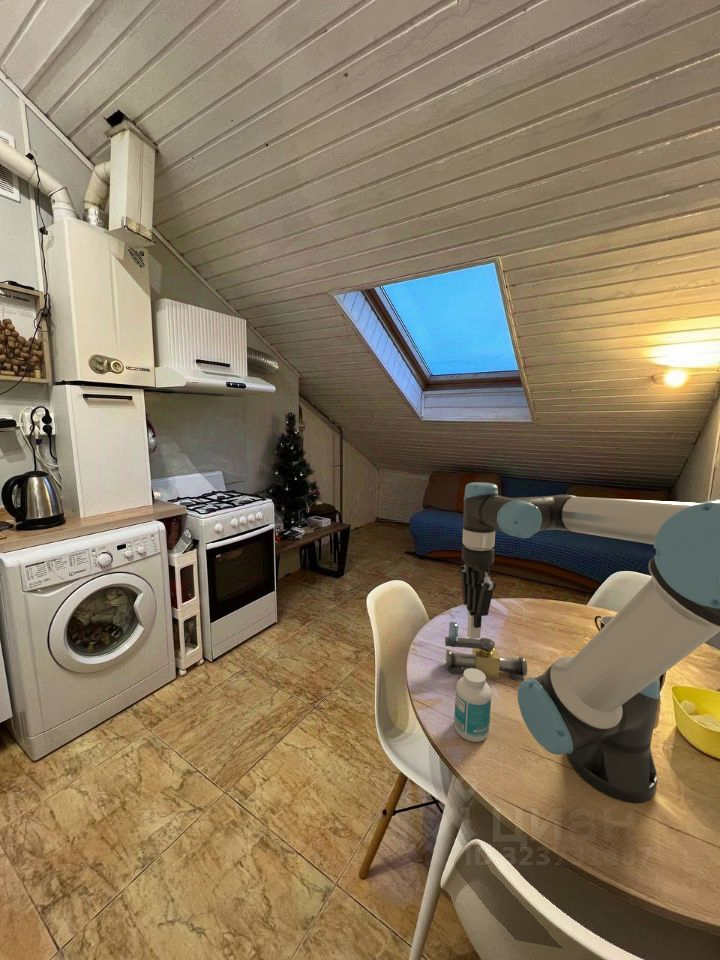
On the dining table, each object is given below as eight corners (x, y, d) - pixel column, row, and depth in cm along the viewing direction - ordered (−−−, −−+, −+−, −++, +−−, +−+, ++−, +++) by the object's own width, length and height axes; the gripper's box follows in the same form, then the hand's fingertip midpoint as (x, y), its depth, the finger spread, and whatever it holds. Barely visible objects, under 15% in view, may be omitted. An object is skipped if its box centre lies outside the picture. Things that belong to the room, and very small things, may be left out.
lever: (492, 643, 103) (493, 623, 102) (495, 652, 99) (497, 631, 98) (444, 639, 105) (445, 619, 104) (446, 648, 101) (447, 627, 100)
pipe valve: (527, 682, 98) (529, 658, 97) (447, 674, 101) (448, 651, 100) (520, 667, 104) (522, 645, 103) (445, 660, 107) (446, 638, 106)
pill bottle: (492, 726, 84) (497, 672, 82) (483, 750, 78) (488, 692, 76) (459, 711, 88) (463, 659, 86) (448, 733, 82) (452, 677, 80)
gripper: (508, 553, 85) (502, 649, 88) (477, 537, 98) (473, 622, 101) (478, 555, 84) (473, 653, 87) (451, 539, 96) (448, 625, 99)
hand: (473, 636), depth 94 cm, fingers closed
